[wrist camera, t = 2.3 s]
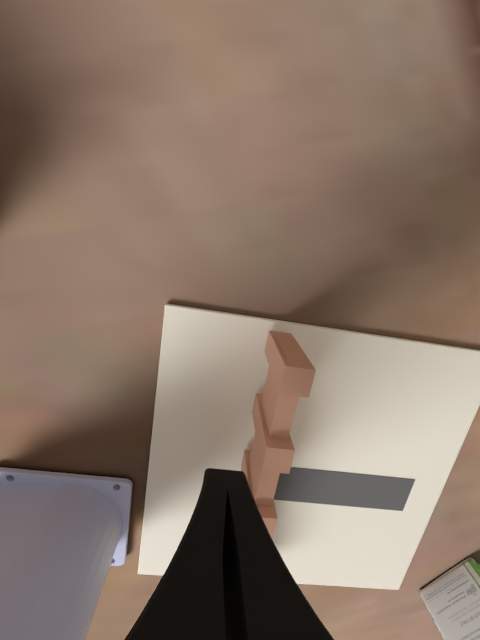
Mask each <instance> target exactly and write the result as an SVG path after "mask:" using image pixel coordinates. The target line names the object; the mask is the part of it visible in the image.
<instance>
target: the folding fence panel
mask: <svg viewBox="0 0 480 640" xmlns="http://www.w3.org/2000/svg"><path fill="white" fill-rule="evenodd" d="M265 355H266V358H267V360H268V363H269V368H268V373H267V378H266V383H265V387H264V392H263V394H256V396H255V401H254V406H253V411H252V415H253V421H254V427H255V435H254V439H253V444H252V449H251V450H246V449H245V450H244V455H243V459H242V464H241V471H243V472H244V473H245V475H246V478H247V481H248V484H249V487H250V490H251V492H252V495H253V497H254V500H255V502H256V505H257V507H258V510H259V512H260V514H261V516H262V519H263V521H264V523H265V525H266V527H267V529H268V532H269V534H270V536H271V538H273V534H274V530H275V526H276V522H277V514H276V509H275V503H274V495H275V491H276V487H277V483H278V479H279V475H280V473H286V474H289V472H290V468H291V464H292V461H293V457H294V453H295V448H294V445H293V442H292V439H291V436H290V431H291V427H292V423H293V419H294V415H295V411H296V407H297V403H298V399H299V397H307V398H309V395H310V391H311V387H312V383H313V380H314V376H315V372H316V369H315V368H314V366H313V365H312V363H311V362H310V360H309V359H308V357H307V356H306V355H305V353H304V352H303V350H302V349H301V347H300V346H299V344H298V343H297V341H296V340H295V338H294V337H293V335H292V334H291V333H284V332H277V331H270V330H269V332H268V337H267V342H266V347H265Z"/></svg>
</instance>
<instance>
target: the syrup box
mask: <svg viewBox="0 0 480 640" xmlns="http://www.w3.org/2000/svg"><path fill="white" fill-rule="evenodd" d="M419 593H420V595H421V597H422V599H423V601H424V603H425V605H426V606H427V608H428V610H429V612H430V614H431V616H432V618H433V620H434V622H435V623H436V625H437V627H438V629H439V631H440V633H441V635H442V637H443V639H444V640H480V564H478V563H477V562H476V561H475V560H474V559H473V558H470V557H469V558H468V559H466V560H464V561H463V562H461V563H460V564H458V565H457V566H455V567H454V568H452V569H451V570H449V571H448V572H446V573H445V574H443V575H442V576H440V577H439V578H437V579H436V580H435V581H433V582H432V583H430V584H429V585H428V586H426V587H425V588H423V589H422V590H420V591H419Z"/></svg>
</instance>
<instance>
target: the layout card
mask: <svg viewBox="0 0 480 640" xmlns="http://www.w3.org/2000/svg"><path fill="white" fill-rule="evenodd" d="M269 330H270V331H277V332H284V333H291V334H292V335H293V337H294V338H295V340H296V341H297V343H298V344H299V346H300V347H301V349H302V350H303V352H304V353H305V355H306V356H307V357H308V359H309V360H310V362H311V363H312V365H313V366H314V368H315V369H316V372H315V376H314V380H313V383H312V387H311V391H310V395H309V398H307V397H299V399H298V403H297V407H296V411H295V415H294V419H293V423H292V427H291V431H290V436H291V439H292V442H293V445H294V448H295V453H294V457H293V461H292V464H291V468H290V472H289V474H286V473H280V475H279V479H278V483H277V487H276V491H275V495H274V503H275V509H276V514H277V522H276V526H275V530H274V534H273V538H272V540H273V542H274V544H275V546H276V548H277V550H278V551H279V553H280V555H281V557H282V559H283V561H284V563H285V564H286V566H287V568H288V570H289V572H290V573H291V575H292V577H293V578H294V580H295V582H296V583H297V584H312V585H328V586H345V587H361V588H378V589H394V590H399V587H400V585H401V583H402V581H403V578H404V576H405V574H406V572H407V569H408V567H409V565H410V562H411V560H412V558H413V556H414V553H415V551H416V549H417V546H418V544H419V542H420V540H421V537H422V535H423V533H424V530H425V528H426V526H427V524H428V521H429V519H430V517H431V515H432V512H433V510H434V508H435V505H436V503H437V501H438V499H439V496H440V494H441V492H442V489H443V487H444V485H445V483H446V480H447V478H448V476H449V473H450V471H451V469H452V467H453V464H454V462H455V460H456V457H457V455H458V453H459V451H460V448H461V446H462V444H463V442H464V439H465V437H466V435H467V432H468V430H469V428H470V426H471V423H472V421H473V419H474V416H475V414H476V412H477V410H478V407H479V405H480V350H476V349H470V348H463V347H456V346H449V345H443V344H436V343H429V342H422V341H416V340H409V339H402V338H395V337H389V336H382V335H375V334H369V333H362V332H355V331H348V330H342V329H335V328H328V327H321V326H315V325H308V324H301V323H294V322H288V321H281V320H274V319H267V318H261V317H254V316H247V315H241V314H234V313H227V312H220V311H214V310H207V309H200V308H193V307H187V306H180V305H173V304H166V305H165V311H164V320H163V330H162V340H161V350H160V360H159V370H158V379H157V389H156V399H155V409H154V419H153V428H152V438H151V448H150V458H149V468H148V477H147V487H146V497H145V507H144V517H143V526H142V536H141V546H140V556H139V566H138V574H147V575H164V573H165V571H166V569H167V568H168V566H169V564H170V562H171V560H172V558H173V556H174V554H175V552H176V550H177V548H178V546H179V544H180V541H181V539H182V537H183V535H184V533H185V531H186V529H187V526H188V524H189V522H190V519H191V517H192V514H193V511H194V509H195V506H196V504H197V501H198V498H199V495H200V492H201V488H202V484H203V478H204V472H205V470H206V469H208V468H214V469H224V470H235V471H241V464H242V459H243V455H244V450H245V449H246V450H251V449H252V444H253V439H254V435H255V427H254V421H253V415H252V411H253V406H254V401H255V396H256V394H263V392H264V387H265V383H266V378H267V373H268V368H269V363H268V360H267V358H266V355H265V347H266V342H267V337H268V332H269Z"/></svg>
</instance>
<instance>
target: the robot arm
mask: <svg viewBox="0 0 480 640" xmlns="http://www.w3.org/2000/svg"><path fill="white" fill-rule="evenodd" d="M116 485H119V486H116ZM132 487H133V484H132V482H131V480H129V479H125V478H114V477H103V476H92V475H81V474H70V473H59V472H48V471H37V470H26V469H15V468H4V467H0V640H85V638H86V635H87V632H88V629H89V626H90V623H91V620H92V617H93V615H94V612H95V609H96V606H97V603H98V600H99V597H100V594H101V591H102V588H103V585H104V582H105V579H106V576H107V573H108V570H109V567H110V565H114V566H120V565H123V564H124V563H125V560H126V557H127V545H128V533H129V522H130V510H131V499H132ZM125 640H334V639H333V638H332V636H331V635H330V633H329V632H328V631H327V629H326V628H325V626H324V625H323V624H322V622H321V621H320V619H319V618H318V616H317V615H316V613H315V612H314V610H313V609H312V607H311V606H310V604H309V603H308V601H307V600H306V598H305V596H304V595H303V593H302V592H301V590H300V588H299V587H298V585H297V583H296V582H295V580H294V578H293V577H292V575H291V573H290V572H289V570H288V568H287V566H286V564H285V563H284V561H283V559H282V557H281V555H280V553H279V551H278V550H277V548H276V546H275V544H274V542H273V540H272V538H271V536H270V534H269V532H268V529H267V527H266V525H265V523H264V521H263V519H262V516H261V514H260V512H259V510H258V507H257V505H256V502H255V500H254V497H253V495H252V492H251V490H250V487H249V484H248V481H247V478H246V475H245V473H244V472H243V471H235V470H224V469H214V468H208V469H206V470H205V472H204V478H203V484H202V488H201V492H200V495H199V498H198V501H197V504H196V506H195V509H194V511H193V514H192V517H191V519H190V522H189V524H188V526H187V529H186V531H185V533H184V535H183V537H182V539H181V541H180V544H179V546H178V548H177V550H176V552H175V554H174V556H173V558H172V560H171V562H170V564H169V566H168V568H167V569H166V571H165V573H164V575H163V577H162V579H161V580H160V582H159V584H158V586H157V588H156V589H155V591H154V593H153V594H152V596H151V598H150V599H149V601H148V603H147V605H146V606H145V608H144V610H143V611H142V613H141V615H140V616H139V618H138V619H137V621H136V623H135V624H134V626H133V627H132V629H131V631H130V632H129V634H128V635H127V637H126V638H125Z"/></svg>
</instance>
